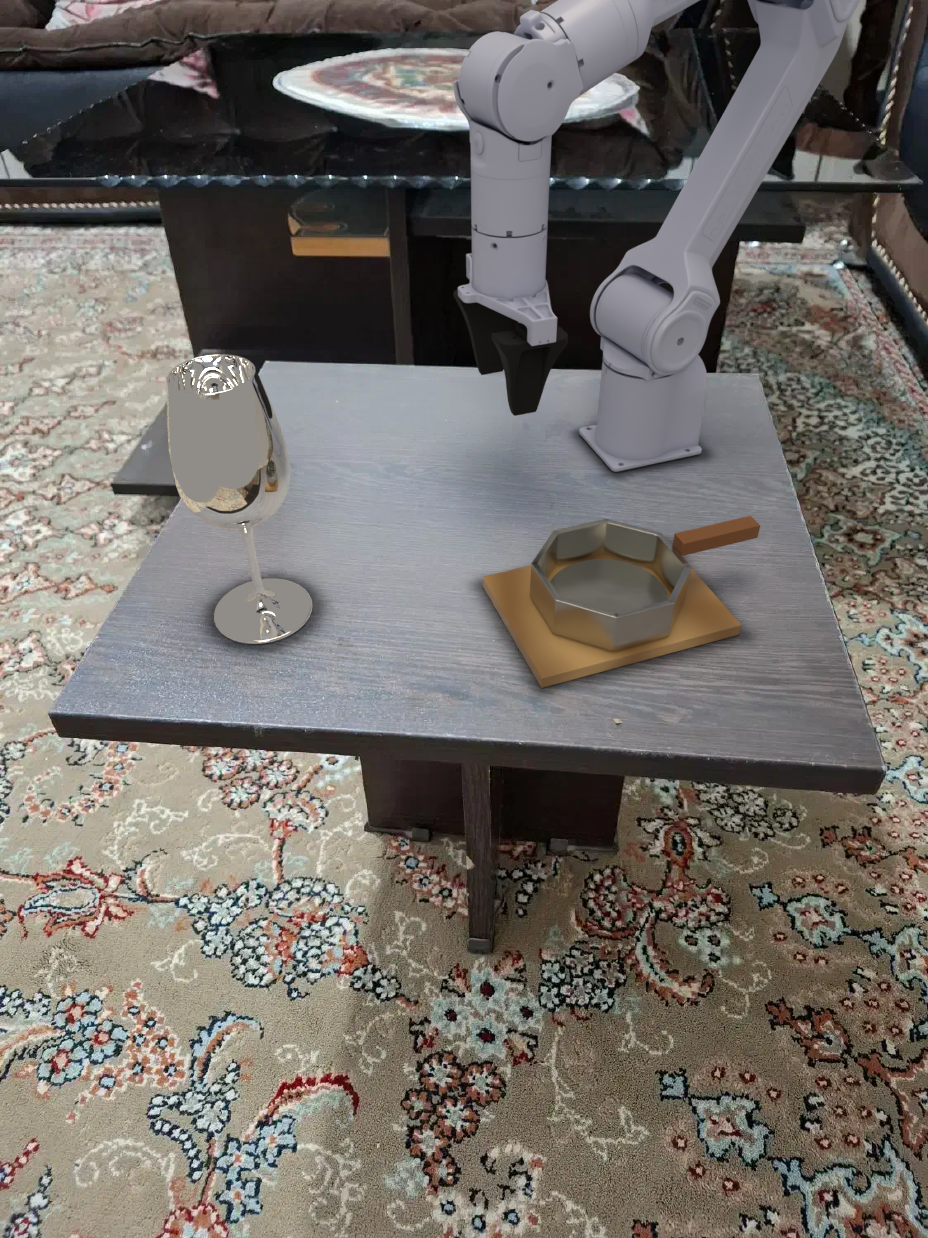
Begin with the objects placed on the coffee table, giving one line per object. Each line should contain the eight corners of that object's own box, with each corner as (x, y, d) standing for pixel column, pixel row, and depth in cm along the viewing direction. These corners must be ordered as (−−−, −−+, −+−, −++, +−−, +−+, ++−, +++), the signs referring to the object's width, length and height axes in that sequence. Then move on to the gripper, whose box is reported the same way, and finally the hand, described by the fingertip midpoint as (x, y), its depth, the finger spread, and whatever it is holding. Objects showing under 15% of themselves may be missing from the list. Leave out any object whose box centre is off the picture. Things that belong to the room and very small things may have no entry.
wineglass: (199, 600, 71) (133, 363, 57) (292, 568, 73) (249, 336, 60) (231, 660, 66) (166, 415, 52) (330, 623, 68) (292, 383, 55)
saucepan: (708, 527, 75) (717, 483, 72) (784, 607, 67) (798, 561, 64) (514, 573, 71) (515, 528, 68) (571, 664, 63) (575, 617, 60)
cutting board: (661, 543, 75) (662, 534, 75) (739, 634, 67) (741, 624, 66) (482, 586, 71) (482, 576, 71) (541, 688, 63) (541, 678, 62)
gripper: (429, 202, 71) (435, 362, 80) (493, 265, 61) (492, 441, 70) (511, 191, 73) (509, 349, 82) (588, 251, 63) (575, 424, 72)
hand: (506, 391), depth 76 cm, fingers open, 7 cm apart
